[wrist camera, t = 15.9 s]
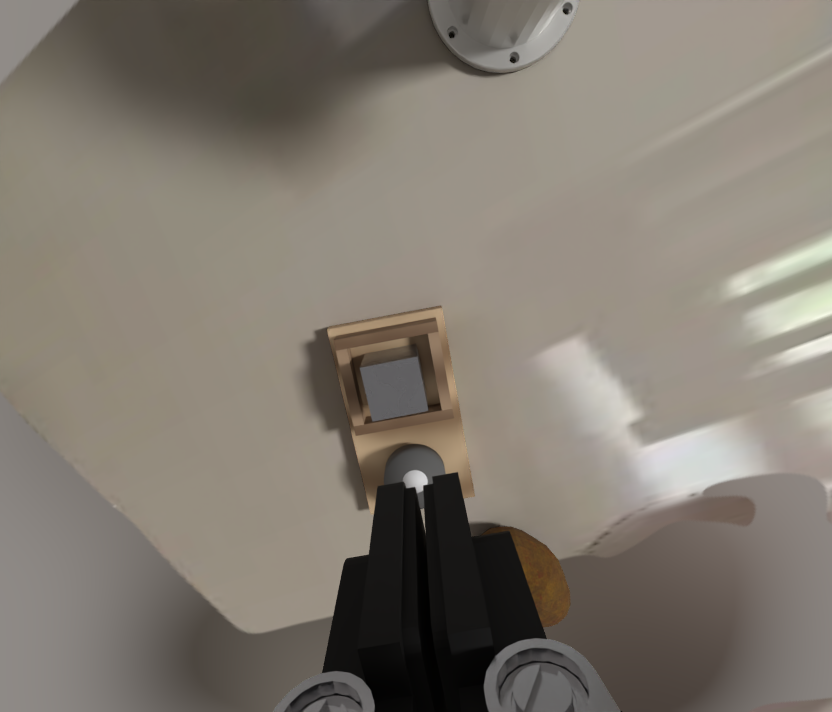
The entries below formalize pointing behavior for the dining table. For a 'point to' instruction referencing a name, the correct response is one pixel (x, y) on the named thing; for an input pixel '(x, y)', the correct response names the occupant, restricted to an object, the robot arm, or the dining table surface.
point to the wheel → (413, 467)
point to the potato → (541, 576)
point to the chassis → (425, 428)
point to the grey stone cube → (394, 382)
